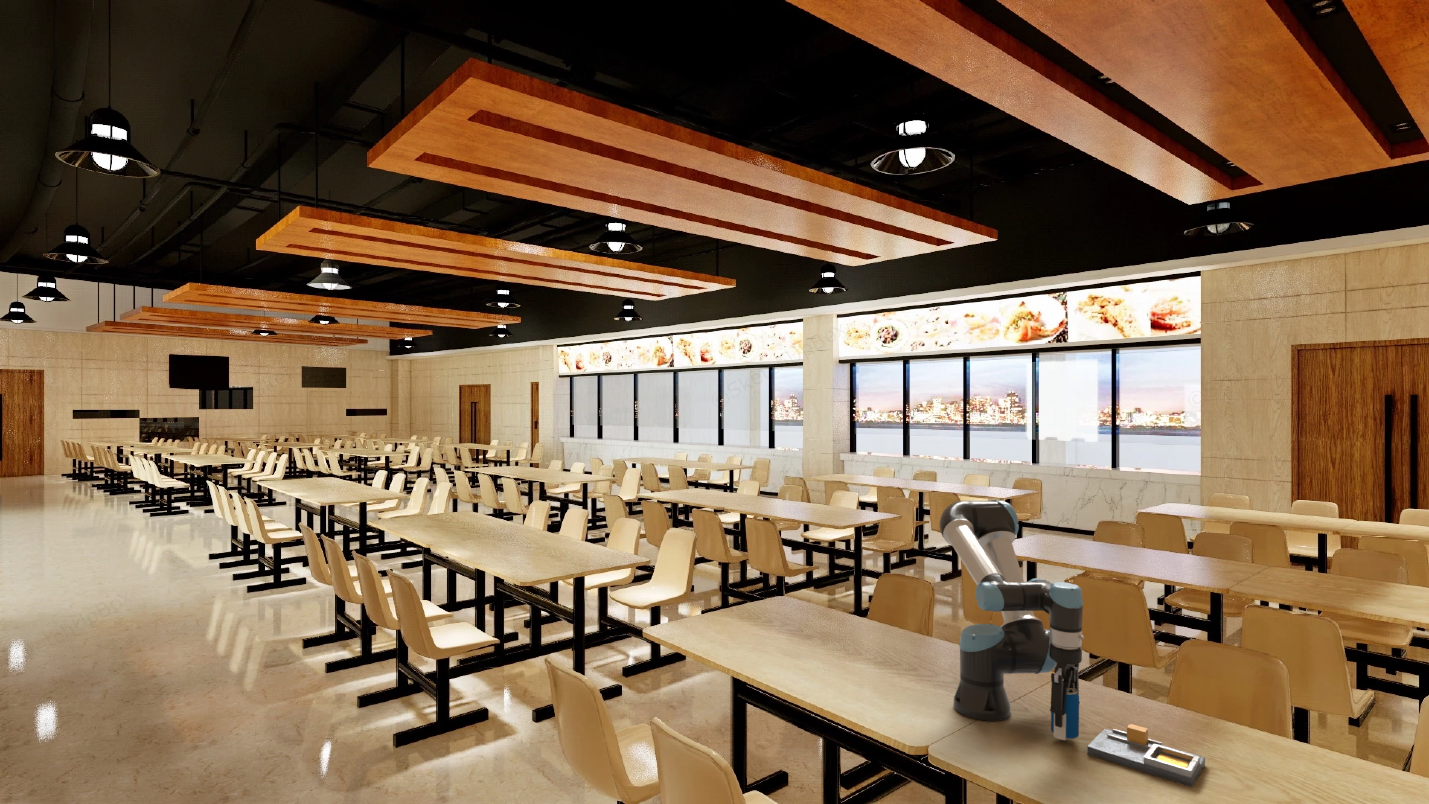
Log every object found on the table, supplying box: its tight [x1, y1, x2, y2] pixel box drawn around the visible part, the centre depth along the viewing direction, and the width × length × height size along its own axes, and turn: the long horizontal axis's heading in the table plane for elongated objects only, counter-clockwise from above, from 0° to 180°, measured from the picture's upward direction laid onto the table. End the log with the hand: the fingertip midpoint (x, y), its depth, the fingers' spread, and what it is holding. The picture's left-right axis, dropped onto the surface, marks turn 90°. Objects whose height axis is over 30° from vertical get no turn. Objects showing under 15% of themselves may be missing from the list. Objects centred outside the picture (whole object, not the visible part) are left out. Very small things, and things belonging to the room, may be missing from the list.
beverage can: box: [1050, 687, 1080, 741], centre depth 184 cm, size 6×6×12 cm
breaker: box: [1126, 723, 1149, 745], centre depth 180 cm, size 4×3×3 cm
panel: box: [1086, 728, 1206, 788], centre depth 175 cm, size 22×14×4 cm, turn 46°
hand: (1064, 733), depth 184 cm, fingers closed on beverage can, 6 cm apart
